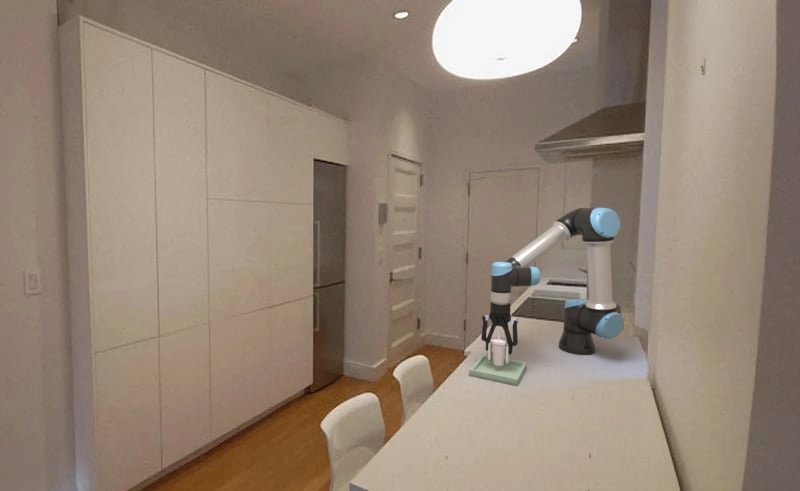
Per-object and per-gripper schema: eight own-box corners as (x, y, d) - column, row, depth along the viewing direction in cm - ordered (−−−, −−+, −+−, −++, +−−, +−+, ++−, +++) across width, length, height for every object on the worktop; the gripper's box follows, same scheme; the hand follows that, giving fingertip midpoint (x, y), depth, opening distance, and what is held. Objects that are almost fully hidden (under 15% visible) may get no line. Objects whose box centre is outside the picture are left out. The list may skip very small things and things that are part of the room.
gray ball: (496, 359, 164) (496, 351, 164) (493, 362, 161) (494, 353, 161) (487, 357, 166) (488, 349, 166) (485, 360, 163) (485, 352, 162)
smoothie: (488, 365, 149) (489, 329, 148) (492, 359, 155) (493, 325, 154) (504, 368, 146) (505, 332, 145) (508, 362, 152) (509, 327, 151)
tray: (526, 368, 155) (526, 362, 154) (517, 386, 139) (517, 379, 139) (482, 360, 163) (482, 354, 163) (469, 375, 147) (469, 369, 147)
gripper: (528, 303, 147) (525, 361, 149) (479, 297, 156) (477, 352, 158) (524, 307, 141) (522, 368, 143) (473, 301, 150) (471, 358, 152)
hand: (498, 360), depth 151 cm, fingers closed on smoothie, 6 cm apart
